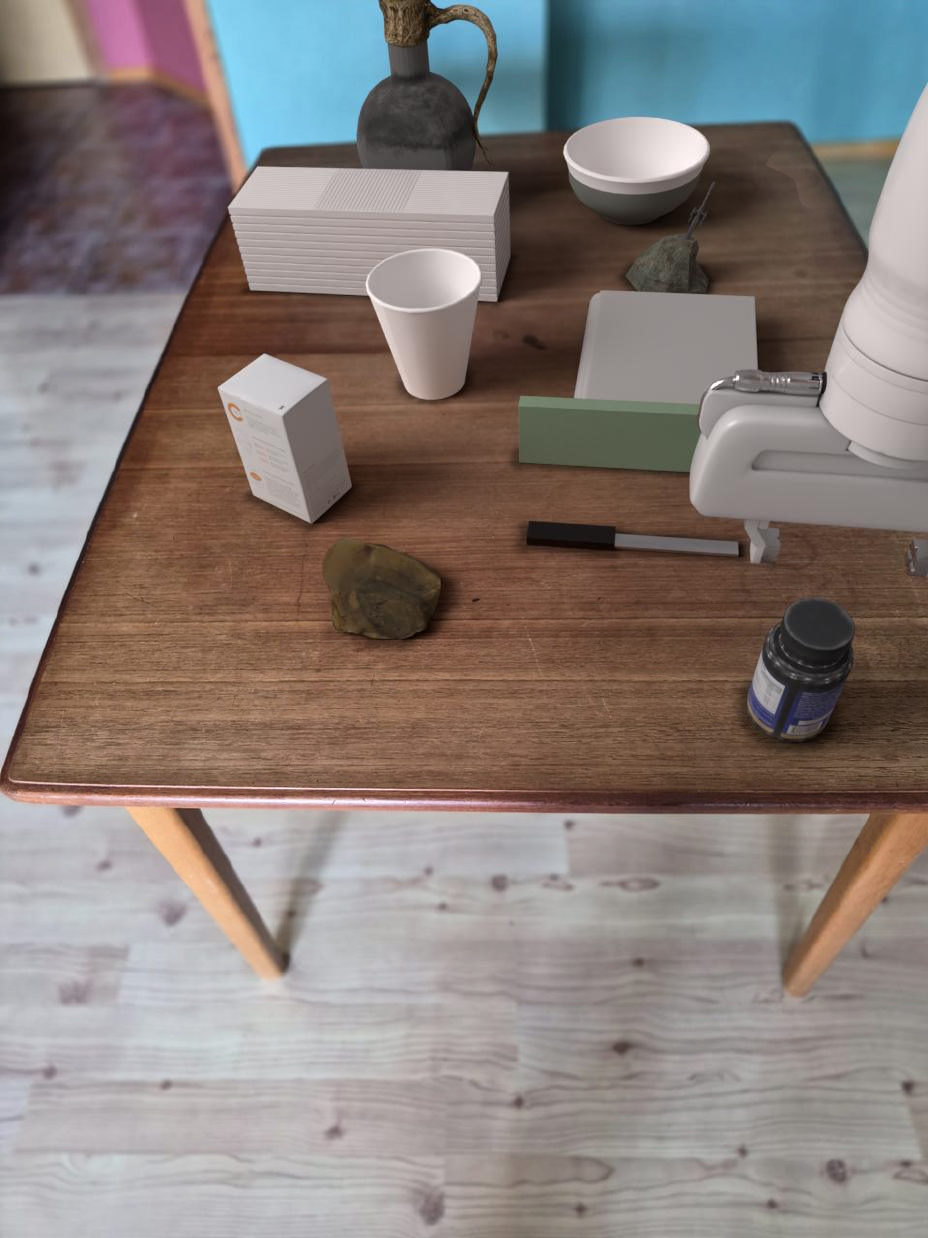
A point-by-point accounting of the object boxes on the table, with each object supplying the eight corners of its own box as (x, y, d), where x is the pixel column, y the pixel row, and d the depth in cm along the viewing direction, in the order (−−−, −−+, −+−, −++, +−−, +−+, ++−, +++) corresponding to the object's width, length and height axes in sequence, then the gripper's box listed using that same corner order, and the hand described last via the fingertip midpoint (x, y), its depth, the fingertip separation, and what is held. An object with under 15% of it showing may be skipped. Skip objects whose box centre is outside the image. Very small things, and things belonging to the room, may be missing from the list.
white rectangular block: (754, 295, 98) (760, 433, 84) (748, 326, 101) (753, 464, 87) (590, 289, 101) (567, 421, 87) (588, 319, 104) (566, 451, 90)
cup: (509, 375, 98) (507, 271, 89) (435, 428, 93) (424, 324, 84) (433, 337, 104) (423, 235, 94) (359, 386, 99) (340, 283, 89)
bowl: (711, 240, 114) (722, 175, 108) (565, 248, 115) (567, 183, 109) (690, 173, 126) (698, 111, 119) (558, 181, 127) (559, 120, 120)
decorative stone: (451, 568, 81) (448, 541, 78) (426, 648, 75) (422, 622, 72) (342, 554, 83) (335, 527, 80) (309, 631, 77) (301, 605, 74)
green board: (744, 464, 87) (758, 406, 81) (744, 475, 86) (758, 417, 80) (521, 452, 90) (520, 395, 85) (519, 462, 89) (518, 405, 84)
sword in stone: (621, 295, 107) (629, 196, 98) (629, 261, 112) (637, 164, 103) (705, 301, 105) (722, 201, 96) (710, 267, 110) (726, 168, 101)
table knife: (737, 542, 80) (739, 534, 80) (738, 559, 79) (740, 552, 78) (529, 527, 83) (529, 520, 82) (526, 544, 82) (526, 537, 81)
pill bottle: (833, 694, 70) (875, 604, 61) (817, 757, 66) (859, 670, 58) (754, 670, 71) (784, 579, 63) (735, 729, 68) (764, 642, 60)
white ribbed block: (510, 256, 114) (508, 171, 106) (497, 301, 108) (493, 214, 99) (276, 247, 120) (257, 165, 111) (250, 290, 113) (227, 206, 105)
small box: (353, 487, 88) (330, 377, 78) (311, 526, 85) (281, 416, 75) (293, 459, 92) (263, 350, 81) (251, 495, 88) (214, 387, 78)
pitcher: (382, 187, 129) (349, -66, 106) (510, 195, 125) (504, -66, 102) (358, 224, 122) (317, -37, 99) (492, 233, 118) (482, -36, 95)
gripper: (707, 406, 44) (670, 586, 55) (1151, 432, 42) (1021, 616, 53) (706, 334, 48) (671, 515, 59) (1111, 353, 46) (998, 539, 56)
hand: (838, 563), depth 56 cm, fingers open, 8 cm apart
